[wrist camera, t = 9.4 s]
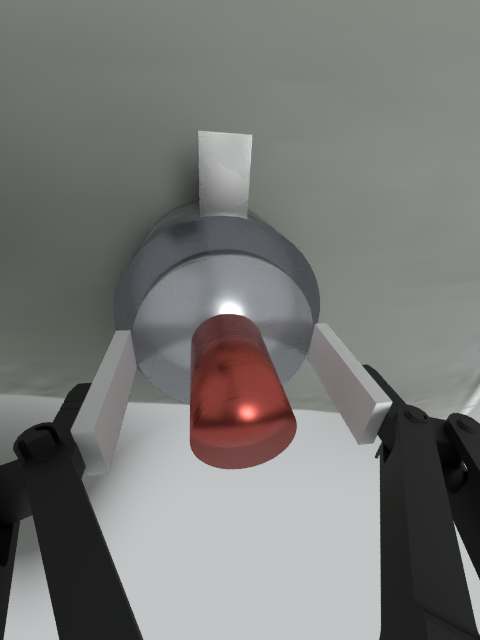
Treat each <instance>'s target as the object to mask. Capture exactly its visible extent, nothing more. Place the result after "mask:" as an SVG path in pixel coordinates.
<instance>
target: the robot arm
mask: <svg viewBox="0 0 480 640" xmlns="http://www.w3.org/2000/svg"><path fill="white" fill-rule="evenodd" d="M307 359H308V360H309V362H310V364H311V365H312V367H313V369H314V370H315V372H316V374H317V375H318V377H319V379H320V380H321V382H322V384H323V386H324V387H325V389H326V391H327V392H328V394H329V396H330V397H331V399H332V401H333V402H334V404H335V406H336V407H337V409H338V411H339V412H340V414H341V416H342V417H343V419H344V421H345V422H346V424H347V426H348V427H349V429H350V431H351V433H352V434H353V436H354V438H355V439H356V441H357V443H358V444H359V445H361V444H370V443H374V441H375V438H376V437H377V435H378V436H379V438H380V439H381V440H382V443H381V445H380V447H379V449H378V451H377V453H376V456H375V458H378V456H379V455H380V542H381V545H380V547H381V633H380V639H379V640H480V635H479V633H478V630H477V627H476V623H475V618H474V614H473V609H472V605H471V600H470V595H469V591H468V586H467V582H466V577H465V573H464V569H463V563H462V559H461V555H460V550H459V545H458V541H457V536H456V531H455V527H454V523H455V525H456V527H457V530H458V532H459V534H460V536H461V539H462V541H463V543H464V545H465V548H466V550H467V552H468V554H469V557H470V559H471V561H472V563H473V566H474V568H475V570H476V572H477V575H478V577H479V579H480V424H479V423H478V422H477V421H475V420H474V419H472V418H471V417H468V416H466V415H463V414H460V413H452V414H450V415H449V417H448V418H447V420H442V419H437V418H431V417H429V416H428V415H427V414H426V413H425V412H424V411H422V410H421V409H419V408H417V407H415V406H412V405H407V404H406V403H405V402H404V401H403V400H402V399H401V398H400V397H399V395H398V394H397V393H396V392H395V391H394V390H393V389H392V388H391V387H390V385H388V384H387V382H386V381H385V380H384V379H382V376H381V375H380V374H379V373H378V372H377V371H376V370H375V369H373V368H372V367H370V366H369V365H361V364H360V363H359V361H358V360H357V359H356V358H355V357H354V356H353V354H352V353H351V352H350V351H349V350H348V348H347V347H346V346H345V345H344V344H343V343H342V341H341V340H340V339H339V338H338V337H337V335H336V334H335V333H334V332H333V331H332V329H331V328H330V327H329V326H328V325H327V324H326V323H319V324H315V326H314V330H313V335H312V339H311V344H310V348H309V353H308V357H307ZM136 370H137V365H136V359H135V354H134V348H133V342H132V337H131V331H130V330H123V331H116V332H115V334H114V336H113V339H112V341H111V343H110V345H109V347H108V350H107V352H106V354H105V356H104V358H103V360H102V363H101V365H100V367H99V369H98V371H97V374H96V376H95V378H94V380H93V382H92V383H83V384H77V385H76V386H75V387H74V388H73V389H72V390H71V391H70V392H69V393H68V395H67V397H66V399H65V400H64V403H63V404H62V406H61V408H60V411H59V412H58V414H57V415H56V417H55V419H54V421H53V423H51V422H47V423H41V424H38V425H35V426H32V427H31V428H29V429H27V430H25V431H24V432H23V433H22V434H21V435H20V436H19V437H18V438H17V440H16V441H15V443H14V447H13V450H14V452H15V454H16V456H17V457H18V460H15V461H12V462H10V463H6V464H4V465H1V466H0V640H3V638H4V631H5V624H6V617H7V610H8V603H9V596H10V589H11V582H12V575H13V568H14V560H15V553H16V547H17V539H18V532H19V525H20V520H22V519H24V518H26V517H29V516H31V515H33V519H34V523H35V527H36V532H37V537H38V542H39V546H40V551H41V556H42V560H43V565H44V570H45V574H46V579H47V583H48V588H49V593H50V598H51V602H52V607H53V612H54V616H55V621H56V626H57V630H58V635H59V640H143V637H142V635H141V632H140V630H139V627H138V624H137V622H136V619H135V617H134V614H133V611H132V609H131V607H130V604H129V601H128V598H127V596H126V593H125V591H124V588H123V586H122V583H121V581H120V578H119V575H118V573H117V570H116V568H115V565H114V562H113V560H112V557H111V555H110V552H109V549H108V547H107V544H106V542H105V539H104V536H103V534H102V531H101V529H100V526H99V523H98V521H97V518H96V516H95V513H94V510H93V508H92V505H91V503H90V500H89V497H88V495H87V492H86V490H85V487H84V484H83V482H82V480H81V479H82V475H83V473H84V470H85V469H86V471H87V474H88V476H93V475H100V474H108V473H109V470H110V467H111V463H112V459H113V455H114V451H115V448H116V444H117V440H118V437H119V433H120V429H121V426H122V422H123V418H124V414H125V410H126V407H127V403H128V400H129V396H130V392H131V389H132V385H133V381H134V377H135V374H136ZM464 464H465V465H466V467H467V469H466V467H465V465H464ZM453 521H454V522H453Z"/></svg>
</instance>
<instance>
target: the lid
mask: <svg viewBox="0 0 480 640" xmlns="http://www.w3.org/2000/svg"><path fill="white" fill-rule="evenodd" d="M312 334H313V321H312V314H311V310H310V307H309V304H308V302H307V300H306V298H305V296H304V294H303V293H302V291H301V290H300V288H299V287H298V286H297V285H296V284H295V283H294V281H293V280H292V279H291V278H290V277H289V276H288V275H287V274H286V272H285V271H284V270H282V269H281V268H280V267H279V266H277V265H276V264H275V263H273V262H271V261H270V260H268V259H266V258H264V257H262V256H259V255H257V254H254V253H250V252H246V251H241V250H233V249H218V250H211V251H205V252H201V253H197V254H194V255H191V256H189V257H187V258H184V259H182V260H180V261H178V262H177V263H175V264H173V265H172V266H170V267H169V268H168V269H166V270H165V271H164V272H163V273H161V274H160V275H159V276H158V277H157V279H156V280H155V281H154V282H153V283H152V284H151V286H150V287H149V289H148V290H147V292H146V293H145V296H144V298H143V300H142V302H141V304H140V307H139V310H138V312H137V315H136V319H135V322H134V326H133V334H132V341H133V348H134V354H135V358H136V360H137V363H138V365H139V367H140V369H141V371H142V372H143V374H144V375H145V376H146V378H147V379H148V380H149V381H150V382H151V383H152V384H153V385H154V386H155V387H156V388H157V389H158V390H160V391H161V392H162V393H164V394H165V395H167V396H169V397H171V398H173V399H175V400H177V401H180V402H182V403H185V404H189V405H190V446H191V449H192V451H193V453H194V454H195V456H196V457H197V458H198V459H199V460H201V461H202V462H204V463H206V464H208V465H210V466H214V467H217V468H222V469H242V468H248V467H253V466H256V465H259V464H262V463H265V462H267V461H269V460H271V459H273V458H274V457H276V456H277V455H279V454H280V453H281V452H283V451H284V450H285V449H286V448H287V447H288V446H289V444H290V443H291V442H292V440H293V438H294V436H295V433H296V429H297V423H296V419H295V416H294V414H293V411H292V409H291V406H290V404H289V402H288V399H287V397H286V394H285V392H284V389H283V387H282V385H283V384H285V383H286V382H287V381H288V380H289V379H290V378H291V377H292V376H293V375H294V374H295V372H296V371H297V370H298V369H299V367H300V366H301V364H302V363H303V361H304V359H305V357H306V355H307V353H308V350H309V347H310V344H311V339H312Z"/></svg>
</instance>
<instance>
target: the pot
mask: <svg viewBox="0 0 480 640" xmlns="http://www.w3.org/2000/svg"><path fill="white" fill-rule="evenodd" d="M251 149H252V135H246V134H233V133H221V132H208V131H198V173H199V201H195V202H191V203H188V204H185V205H182V206H180V207H178V208H176V209H174V210H172V211H170V212H169V213H168V214H166V215H165V216H163V217H162V218H161V219H160V220H159V221H158V222H157V223H156V224H155V225H154V227H153V228H152V229H151V231H150V232H149V233H148V235H147V237H146V238H145V240H144V242H143V243H142V245H141V246H140V248H139V250H138V251H137V253H136V254H135V256H134V258H133V259H132V261H131V262H130V264H129V266H128V267H127V269H126V271H125V273H124V274H123V276H122V278H121V281H120V284H119V286H118V289H117V293H116V298H115V303H114V320H115V328H116V331H123V330H130V331H131V337H132V334H133V326H134V322H135V319H136V315H137V312H138V310H139V307H140V304H141V302H142V300H143V298H144V296H145V293H146V292H147V290H148V289H149V287H150V286H151V284H152V283H153V282H154V281H155V280H156V279H157V277H158V276H159V275H160V274H161V273H163V272H164V271H165V270H166V269H168V268H169V267H170V266H172V265H173V264H175V263H177V262H178V261H180V260H182V259H184V258H187V257H189V256H191V255H194V254H197V253H201V252H205V251H211V250H218V249H233V250H241V251H246V252H250V253H254V254H257V255H259V256H262V257H264V258H266V259H268V260H270V261H271V262H273V263H275V264H276V265H277V266H279V267H280V268H281V269H282V270H284V271H285V272H286V274H287V275H288V276H289V277H290V278H291V279H292V280H293V281H294V283H295V284H296V285H297V286H298V287H299V288H300V290H301V291H302V293H303V294H304V296H305V298H306V300H307V302H308V304H309V307H310V310H311V314H312V321H313V330H314V326H315V324H317V323H318V318H319V312H320V296H319V289H318V285H317V281H316V278H315V275H314V273H313V271H312V269H311V266H310V265H309V263H308V262H307V260H306V259H305V257H304V256H303V254H302V253H301V252H300V251H299V250H298V249H297V248H296V247H295V245H294V244H292V243H291V242H290V241H289V240H287V239H286V238H285V237H284V236H282V235H281V234H280V233H279V232H277V231H276V230H275V229H273V228H272V227H271V226H270V225H268V224H267V223H266V222H265V221H263V220H262V219H261V218H260V217H258V216H257V215H256V214H254V213H253V212H251V211H250V210H248V197H249V181H250V165H251ZM312 335H313V334H312ZM132 342H133V341H132ZM135 359H136V358H135ZM136 365H137V369H138V370H139V371H141V369H140V367H139V365H138V363H137V360H136ZM141 372H142V371H141ZM142 373H143V372H142Z"/></svg>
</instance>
